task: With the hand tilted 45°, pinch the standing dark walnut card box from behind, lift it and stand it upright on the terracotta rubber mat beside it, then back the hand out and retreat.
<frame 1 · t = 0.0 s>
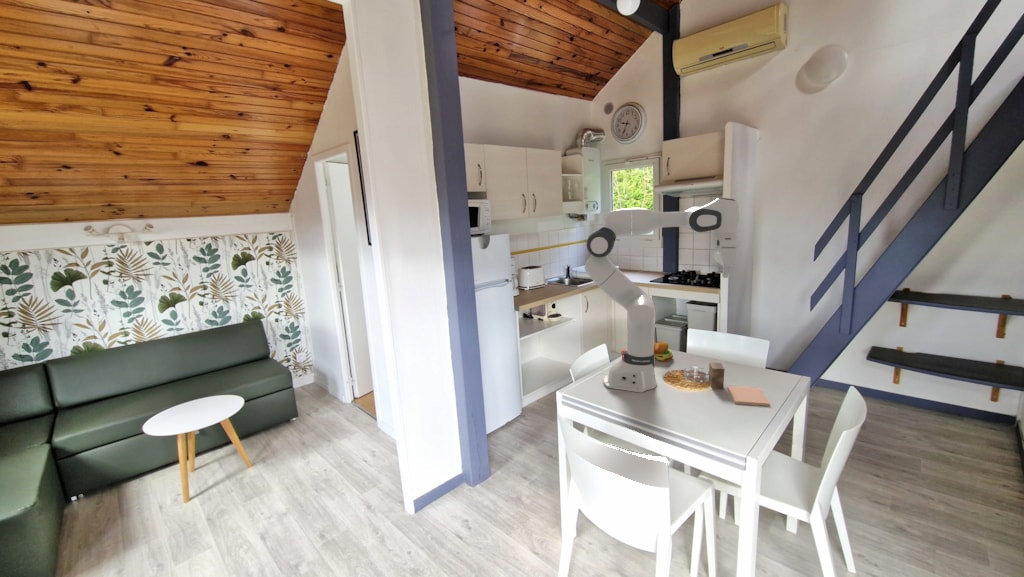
hand: (722, 275, 171), 48 cm above the table, fingers open, 8 cm apart
cheeseburger: (661, 359, 215), on the table
mat: (747, 396, 172), on the table
card box: (715, 385, 183), on the table
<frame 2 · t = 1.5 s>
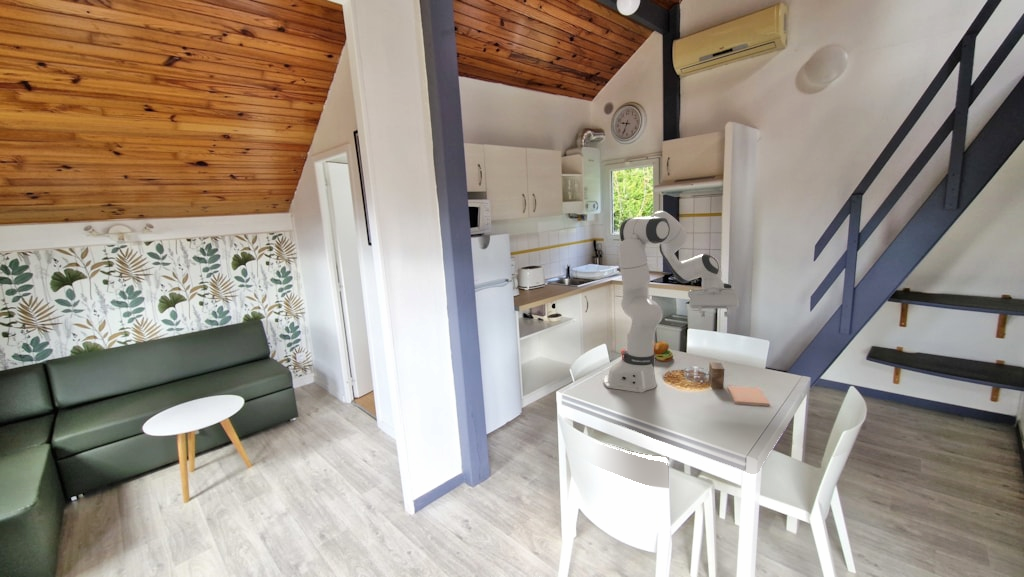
hand: (714, 316, 190), 27 cm above the table, fingers open, 8 cm apart
nothing on the table moved.
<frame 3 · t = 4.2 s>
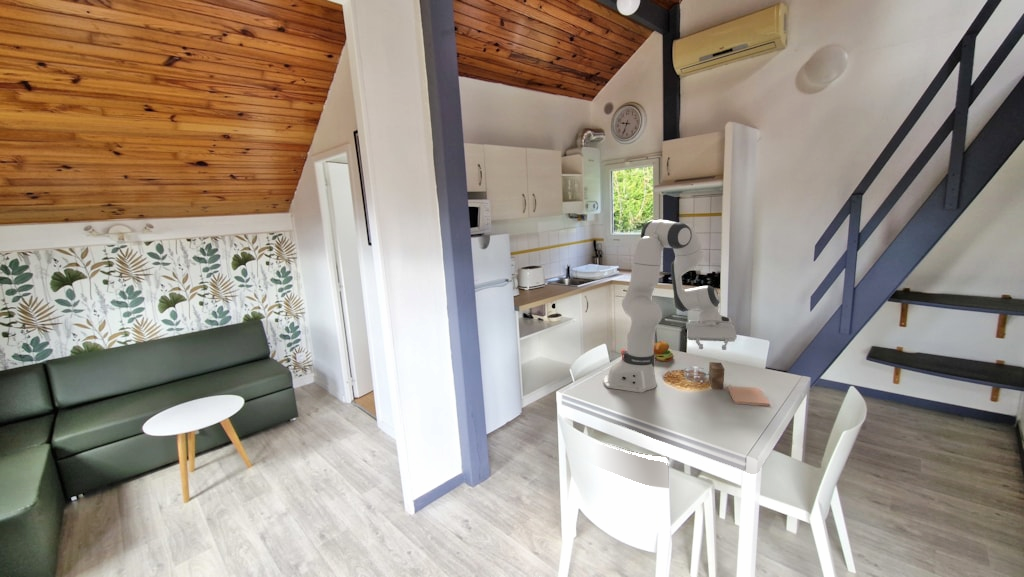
hand: (712, 348, 191), 12 cm above the table, fingers open, 8 cm apart
nothing on the table moved.
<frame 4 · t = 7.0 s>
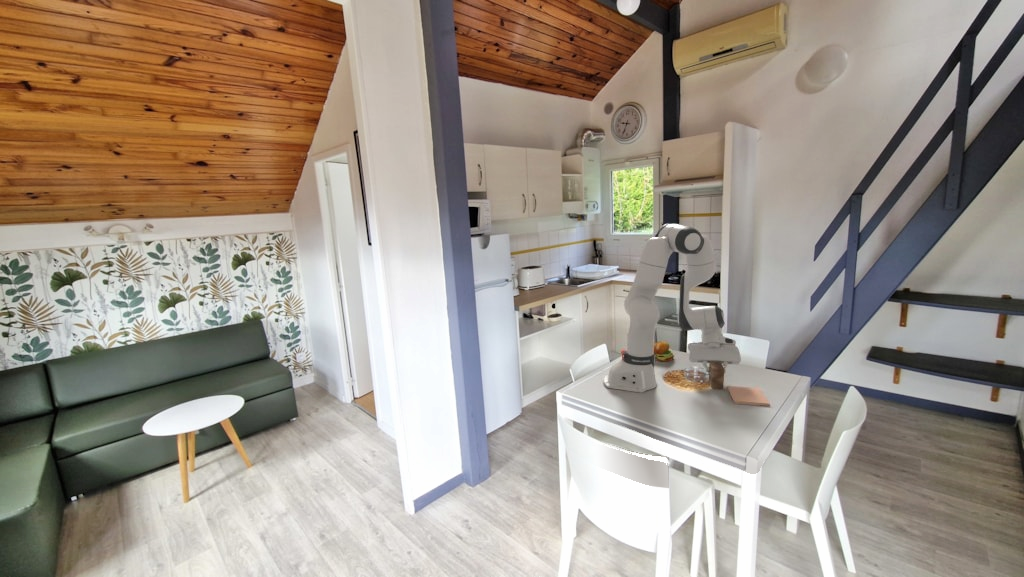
hand: (715, 372, 183), 5 cm above the table, fingers closed on card box, 4 cm apart
card box: (715, 385, 183), on the table, touching gripper
everything else where it was.
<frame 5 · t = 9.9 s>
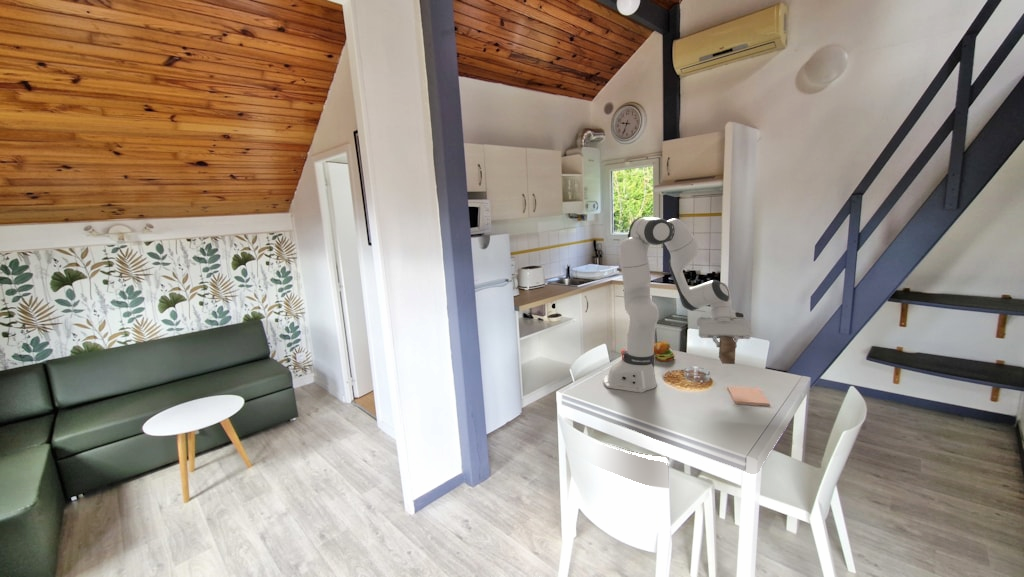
hand: (726, 347, 178), 18 cm above the table, fingers closed on card box, 4 cm apart
card box: (726, 360, 178), point 12 cm above the table, touching gripper
everything else where it was.
when the fingers open (8 cm above the table, at t = 13.3 s): card box drops 1 cm, resting on mat.
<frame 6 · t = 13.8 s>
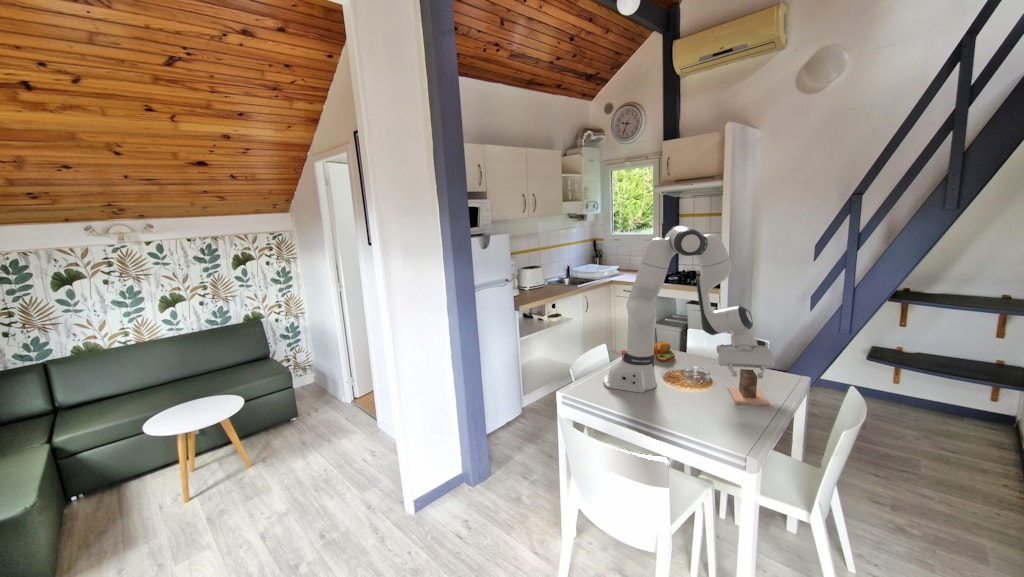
hand: (747, 376, 172), 8 cm above the table, fingers open, 8 cm apart
card box: (747, 394, 172), point 1 cm above the table, touching mat
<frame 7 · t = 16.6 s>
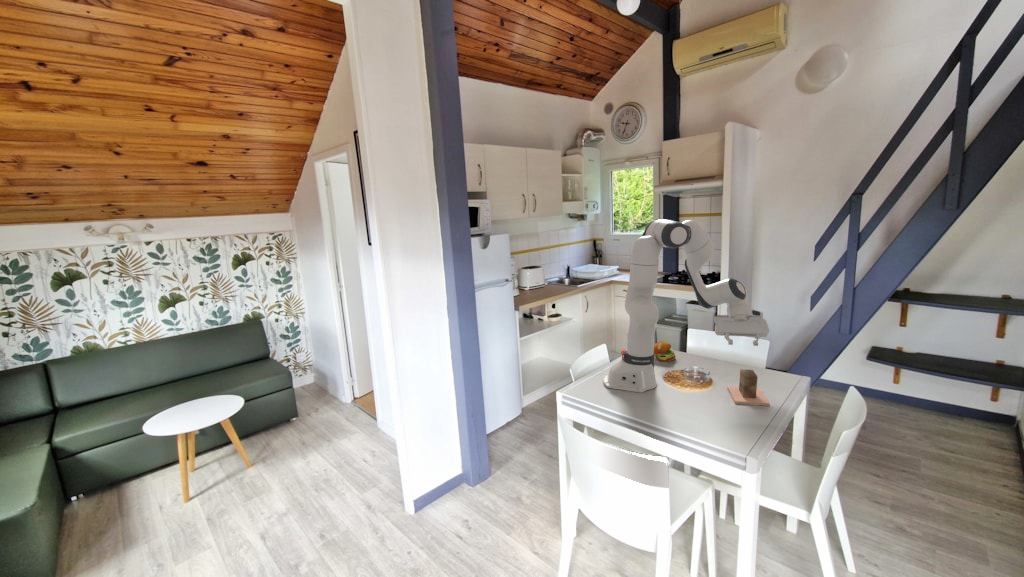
hand: (743, 344, 179), 18 cm above the table, fingers open, 8 cm apart
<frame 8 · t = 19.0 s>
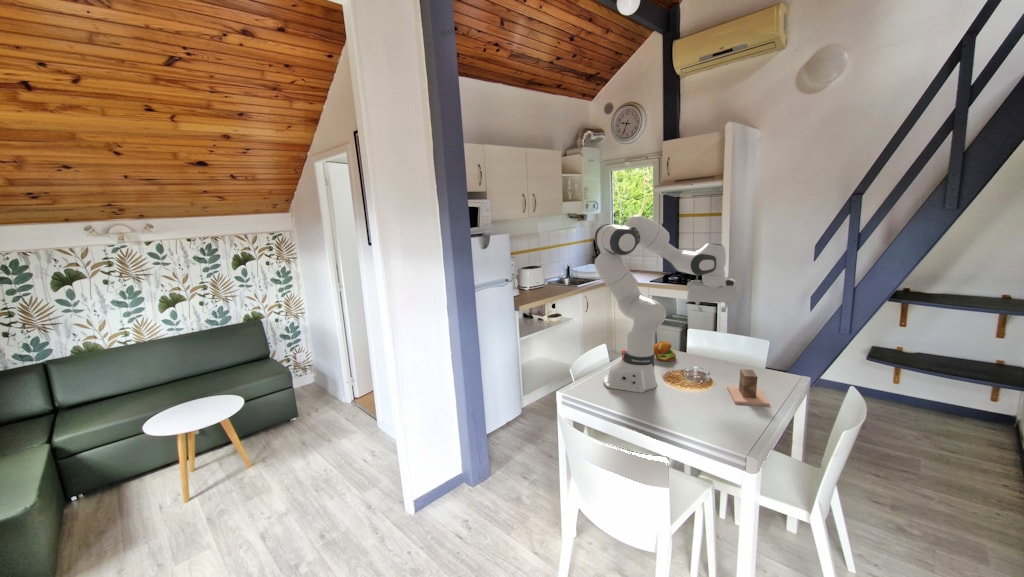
hand: (711, 311, 189), 29 cm above the table, fingers open, 8 cm apart
at the end: card box inside the target area on the mat (0.2 cm from its centre), point 1.0 cm above the mat's base; card box tilted 0°; the gripper is holding nothing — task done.
